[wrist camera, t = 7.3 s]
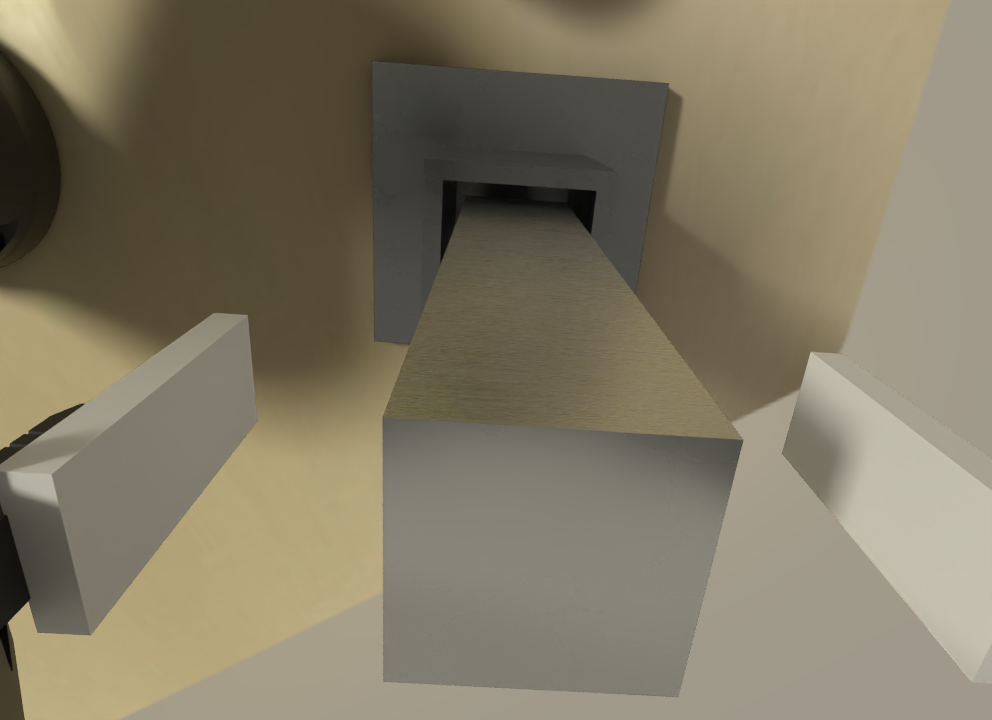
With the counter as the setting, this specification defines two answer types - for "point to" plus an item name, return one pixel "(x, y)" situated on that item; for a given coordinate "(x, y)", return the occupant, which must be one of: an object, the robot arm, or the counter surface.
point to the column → (545, 471)
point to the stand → (501, 165)
